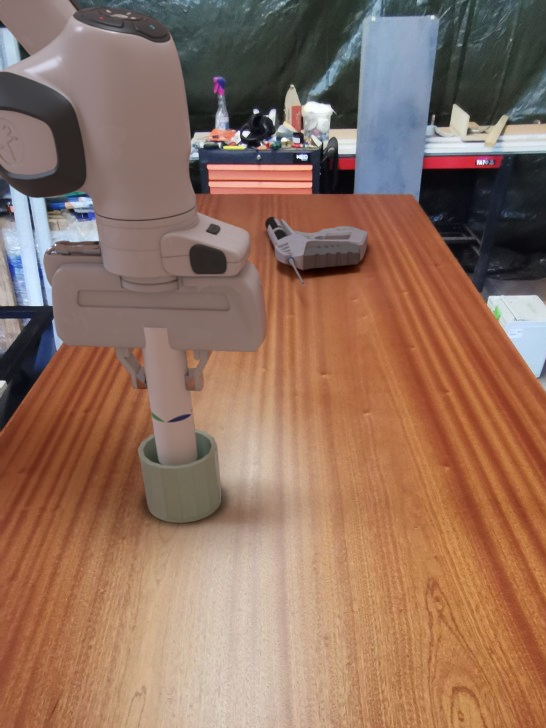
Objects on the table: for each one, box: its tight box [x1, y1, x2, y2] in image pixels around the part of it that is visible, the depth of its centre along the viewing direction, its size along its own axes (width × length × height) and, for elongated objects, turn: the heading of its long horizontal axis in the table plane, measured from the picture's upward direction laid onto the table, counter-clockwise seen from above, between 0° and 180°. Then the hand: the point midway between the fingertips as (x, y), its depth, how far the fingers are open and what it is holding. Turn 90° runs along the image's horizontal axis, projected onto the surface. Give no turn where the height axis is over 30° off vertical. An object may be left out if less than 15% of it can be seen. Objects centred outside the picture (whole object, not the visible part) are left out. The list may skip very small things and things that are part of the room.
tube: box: [140, 327, 198, 466], centre depth 75 cm, size 4×4×15 cm
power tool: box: [264, 216, 369, 287], centre depth 142 cm, size 45×5×20 cm
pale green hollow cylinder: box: [137, 428, 222, 524], centre depth 82 cm, size 8×8×7 cm
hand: (169, 387), depth 75 cm, fingers closed on tube, 4 cm apart
